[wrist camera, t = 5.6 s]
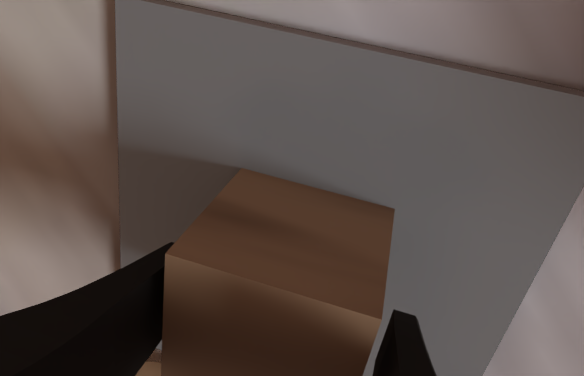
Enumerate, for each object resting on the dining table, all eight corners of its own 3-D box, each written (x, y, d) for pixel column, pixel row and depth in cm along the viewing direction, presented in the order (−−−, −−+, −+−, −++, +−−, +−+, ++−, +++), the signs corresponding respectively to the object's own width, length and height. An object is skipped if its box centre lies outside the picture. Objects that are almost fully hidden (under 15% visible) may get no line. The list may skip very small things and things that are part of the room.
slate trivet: (443, 429, 18) (444, 446, 18) (132, 324, 21) (122, 336, 20) (614, 97, 12) (626, 106, 11) (130, -8, 14) (114, -6, 13)
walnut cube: (357, 326, 16) (333, 459, 12) (227, 286, 17) (160, 396, 13) (394, 208, 14) (381, 320, 10) (241, 167, 15) (165, 253, 10)
